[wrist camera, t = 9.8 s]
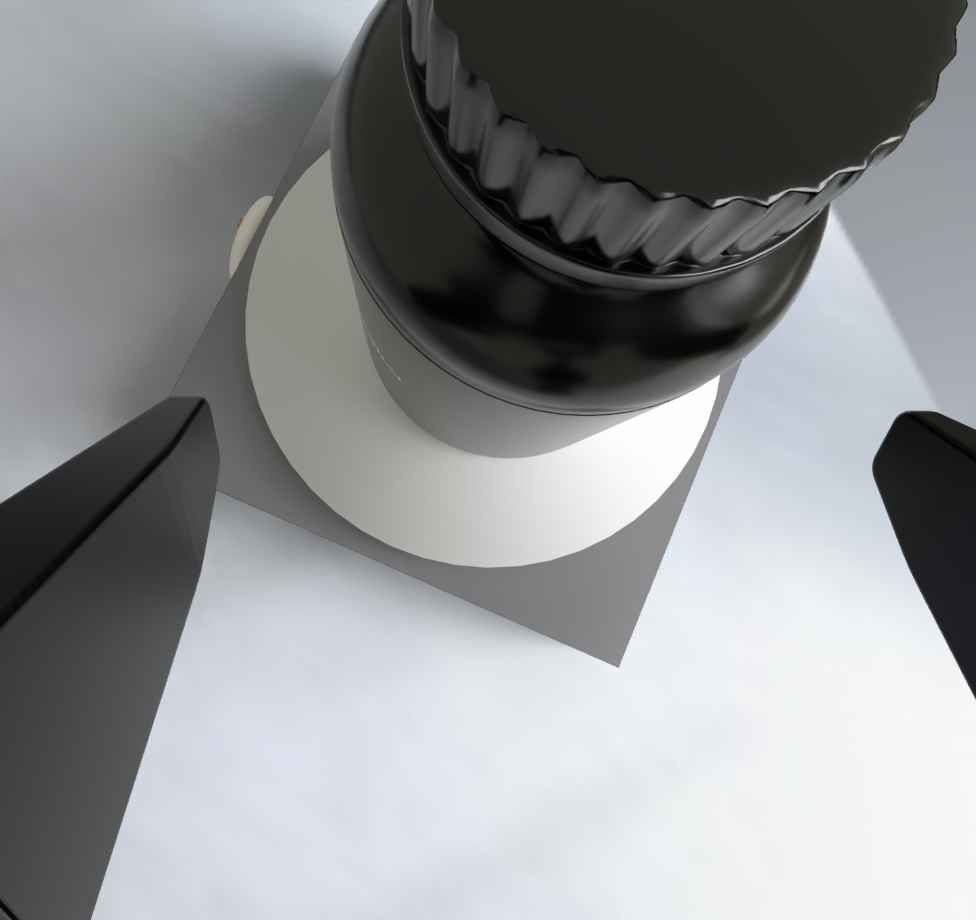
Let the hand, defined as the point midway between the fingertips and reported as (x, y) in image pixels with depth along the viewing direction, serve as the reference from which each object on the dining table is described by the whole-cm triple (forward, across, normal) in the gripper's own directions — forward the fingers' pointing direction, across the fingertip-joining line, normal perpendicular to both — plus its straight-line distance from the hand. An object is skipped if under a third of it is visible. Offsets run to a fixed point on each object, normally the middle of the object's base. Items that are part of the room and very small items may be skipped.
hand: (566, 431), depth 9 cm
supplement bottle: (+8, 0, +3) cm, 9 cm away
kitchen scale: (+11, 0, +6) cm, 13 cm away
